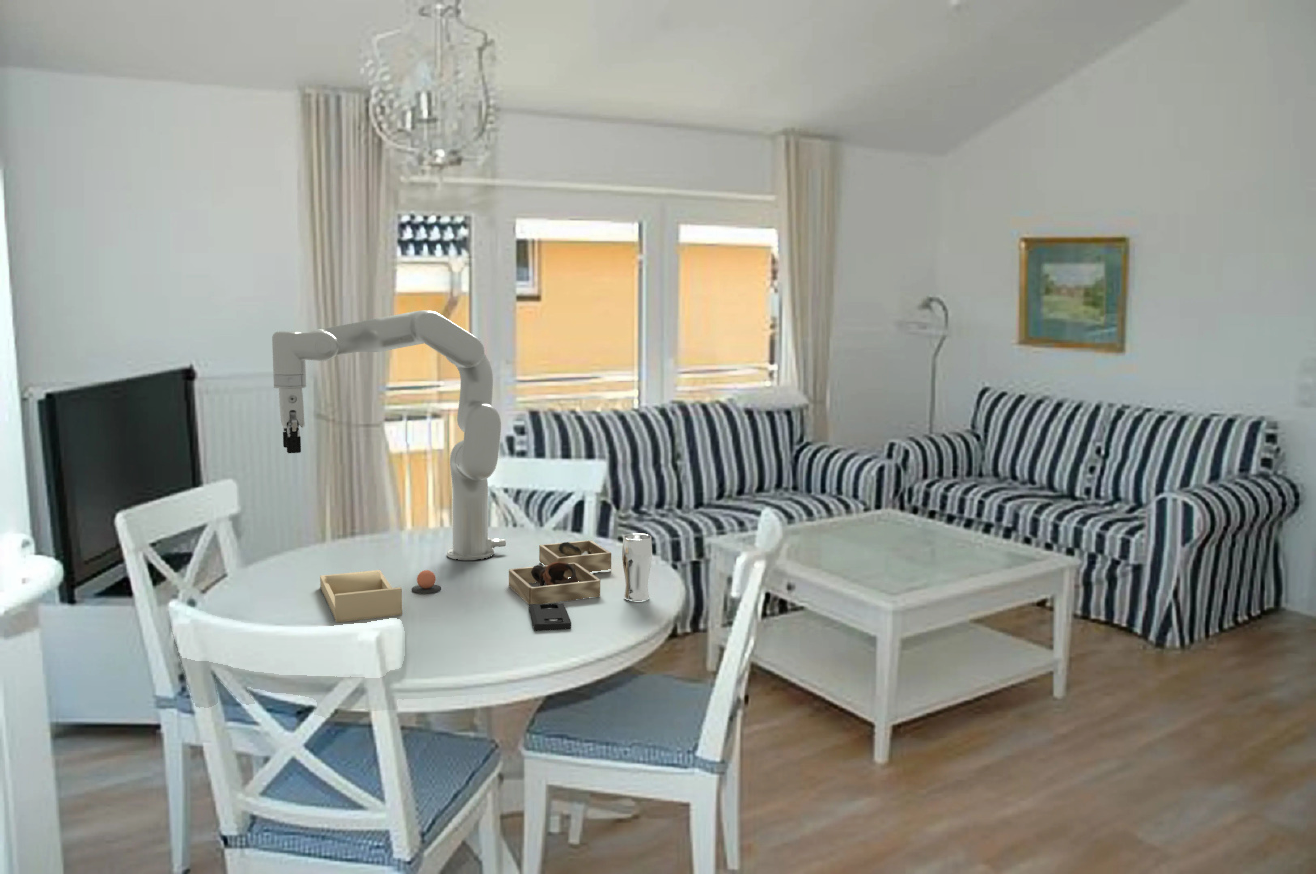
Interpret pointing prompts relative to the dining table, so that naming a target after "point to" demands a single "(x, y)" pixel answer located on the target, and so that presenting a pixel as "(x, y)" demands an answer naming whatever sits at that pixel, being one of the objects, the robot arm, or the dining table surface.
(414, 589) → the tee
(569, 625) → the vhs tape
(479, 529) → the robot arm
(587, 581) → the shallow wooden box
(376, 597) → the wooden drawer
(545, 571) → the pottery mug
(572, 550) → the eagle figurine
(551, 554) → the wooden tray
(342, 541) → the dining table surface
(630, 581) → the beer glass
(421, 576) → the ball
